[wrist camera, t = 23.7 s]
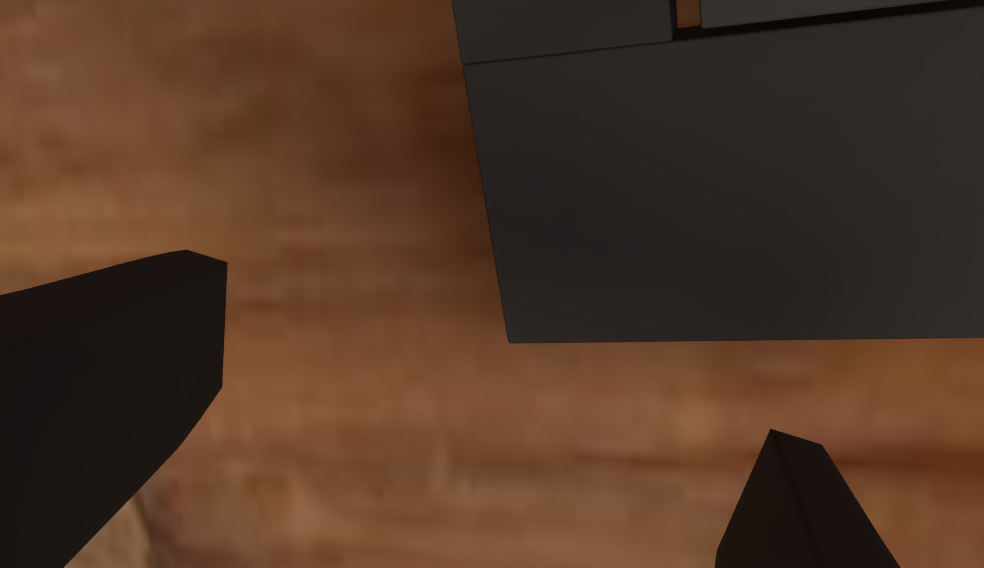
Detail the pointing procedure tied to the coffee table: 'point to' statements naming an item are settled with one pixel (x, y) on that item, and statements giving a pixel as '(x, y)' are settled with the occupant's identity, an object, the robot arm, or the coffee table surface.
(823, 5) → the black cube
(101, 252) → the coffee table surface
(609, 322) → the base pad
